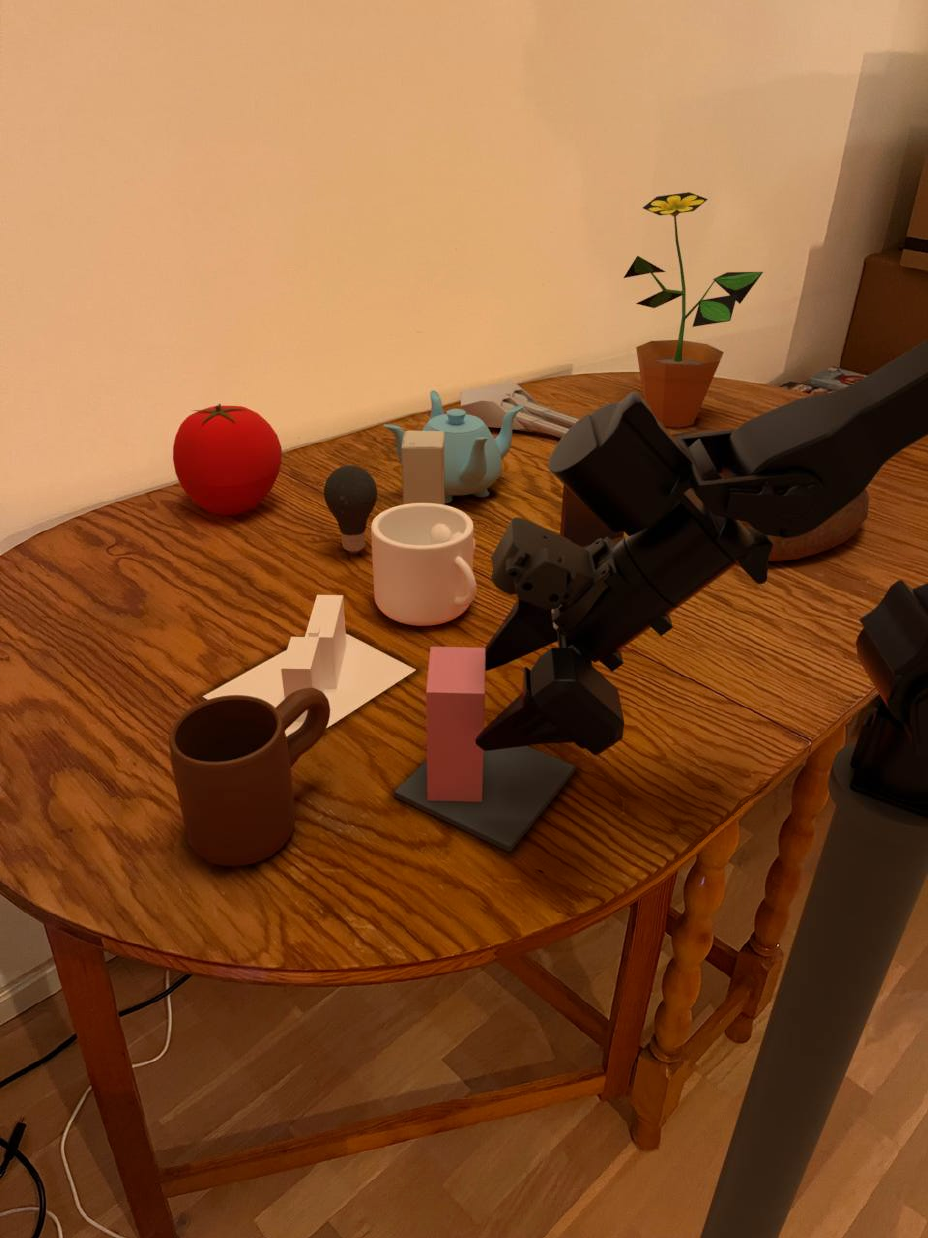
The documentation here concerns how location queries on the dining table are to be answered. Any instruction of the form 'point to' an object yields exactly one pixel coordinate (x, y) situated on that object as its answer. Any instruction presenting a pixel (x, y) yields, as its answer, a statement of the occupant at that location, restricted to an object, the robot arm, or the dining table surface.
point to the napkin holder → (321, 667)
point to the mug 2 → (423, 563)
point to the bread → (821, 537)
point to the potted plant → (680, 366)
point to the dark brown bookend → (582, 523)
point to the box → (423, 467)
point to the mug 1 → (242, 772)
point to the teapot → (466, 448)
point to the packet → (455, 723)
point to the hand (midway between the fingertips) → (480, 703)
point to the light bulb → (351, 503)
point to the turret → (503, 396)
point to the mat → (497, 794)
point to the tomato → (226, 458)
